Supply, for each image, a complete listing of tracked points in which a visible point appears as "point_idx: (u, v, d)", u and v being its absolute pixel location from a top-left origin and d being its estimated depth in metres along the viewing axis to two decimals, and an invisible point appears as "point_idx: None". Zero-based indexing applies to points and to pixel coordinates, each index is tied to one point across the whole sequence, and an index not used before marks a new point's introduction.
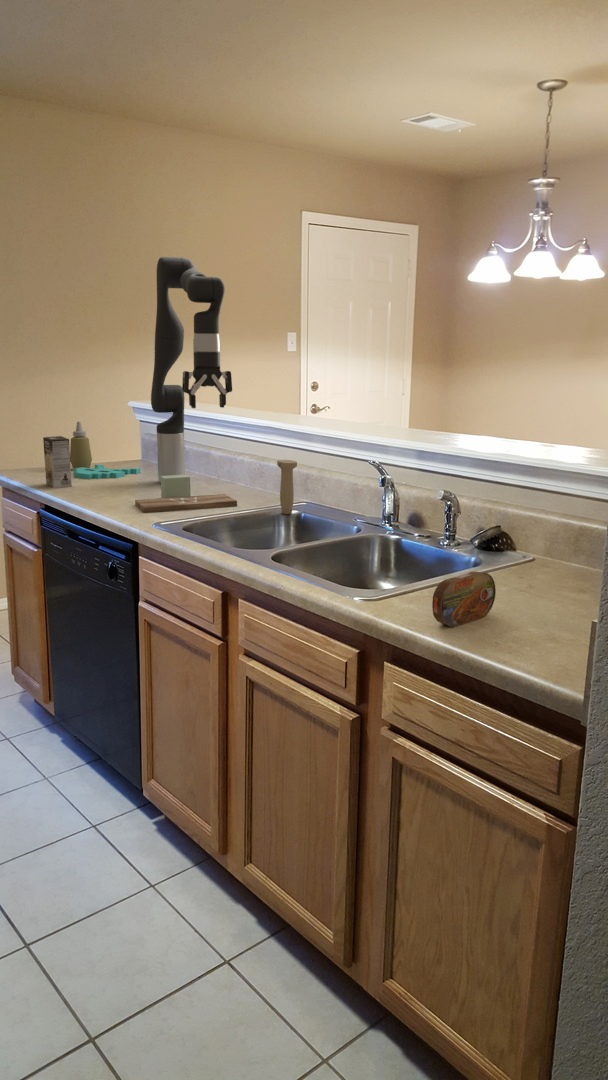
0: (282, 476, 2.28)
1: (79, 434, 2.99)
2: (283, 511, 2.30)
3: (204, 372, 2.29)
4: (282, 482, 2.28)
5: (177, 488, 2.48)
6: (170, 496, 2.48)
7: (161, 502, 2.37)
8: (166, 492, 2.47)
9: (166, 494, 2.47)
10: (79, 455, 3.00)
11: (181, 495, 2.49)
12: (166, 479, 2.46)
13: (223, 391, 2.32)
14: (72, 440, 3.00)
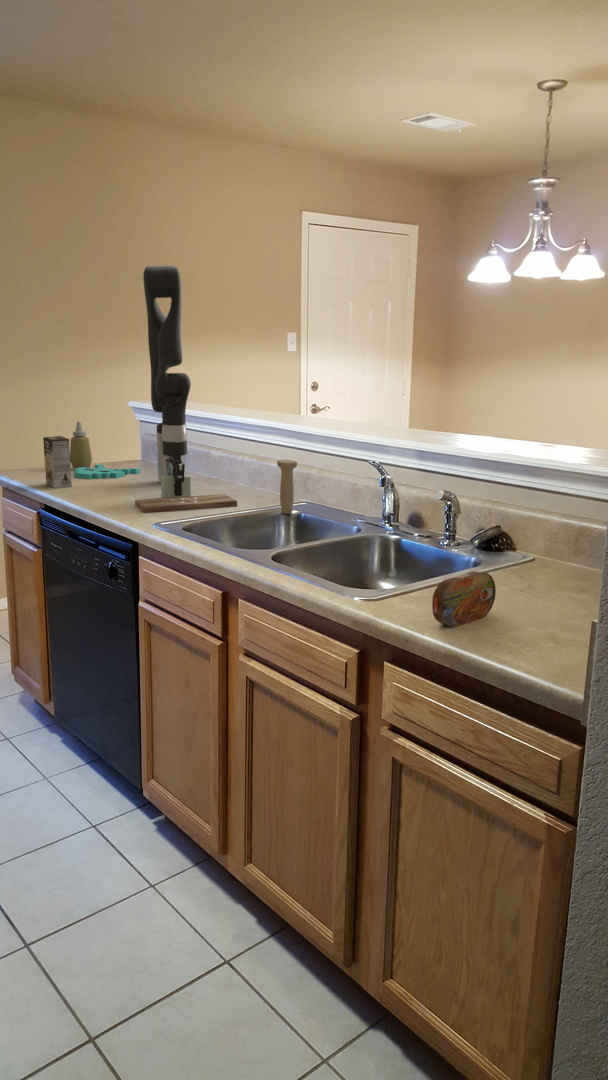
0: (282, 476, 2.28)
1: (79, 434, 2.99)
2: (283, 511, 2.30)
3: None
4: (282, 482, 2.28)
5: None
6: (170, 496, 2.48)
7: (161, 502, 2.37)
8: (166, 492, 2.47)
9: (166, 494, 2.47)
10: (79, 455, 3.00)
11: (181, 495, 2.49)
12: (166, 479, 2.46)
13: None
14: (72, 440, 3.00)
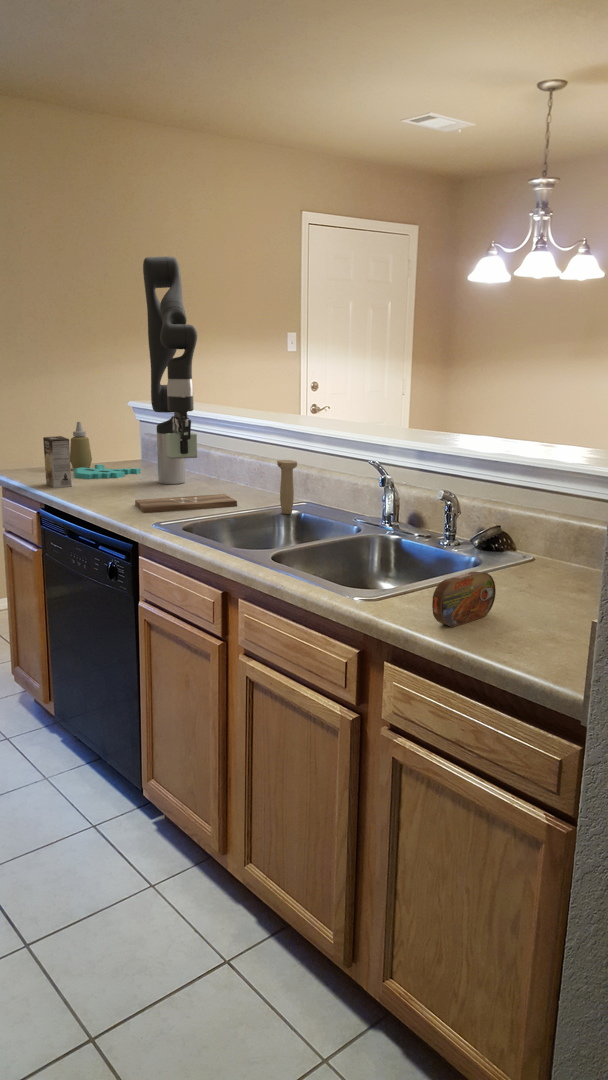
0: (282, 476, 2.28)
1: (79, 434, 2.99)
2: (283, 511, 2.30)
3: None
4: (282, 482, 2.28)
5: None
6: (176, 454, 2.36)
7: (161, 502, 2.37)
8: (171, 450, 2.36)
9: (171, 452, 2.36)
10: (79, 455, 3.00)
11: (187, 453, 2.38)
12: (172, 436, 2.35)
13: None
14: (72, 440, 3.00)
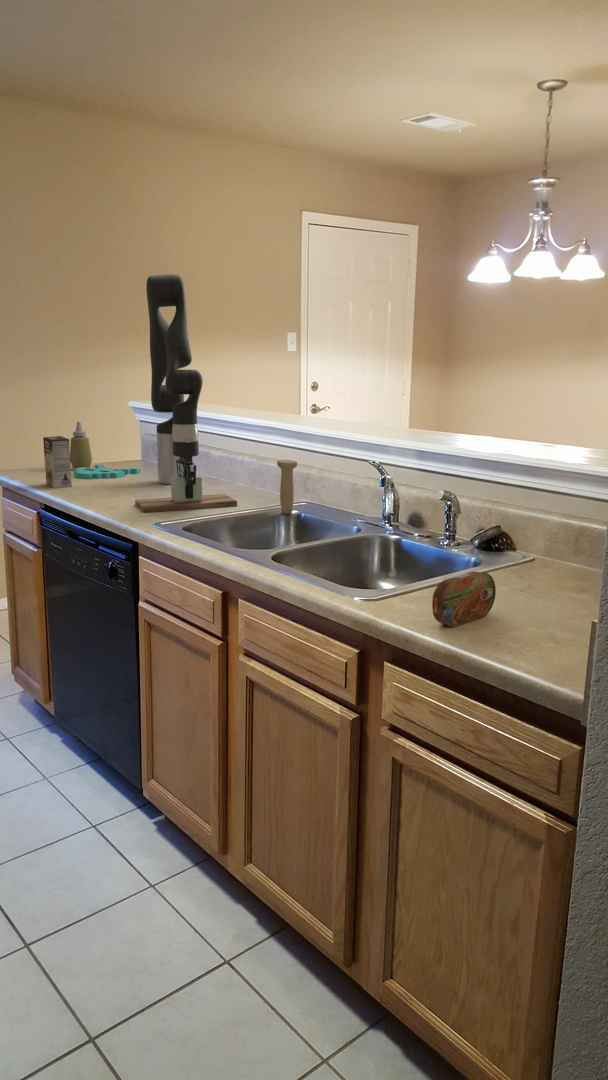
0: (282, 476, 2.28)
1: (79, 434, 2.99)
2: (283, 511, 2.30)
3: None
4: (282, 482, 2.28)
5: None
6: (181, 498, 2.35)
7: (161, 502, 2.37)
8: (176, 493, 2.35)
9: (176, 496, 2.35)
10: (79, 455, 3.00)
11: None
12: (176, 480, 2.34)
13: None
14: (72, 440, 3.00)
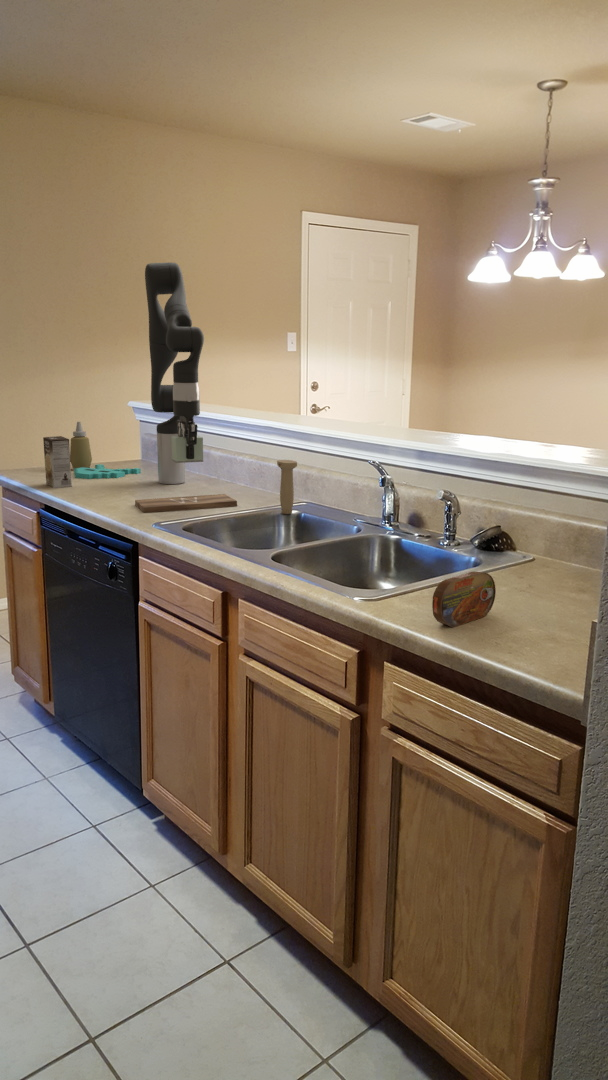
0: (282, 476, 2.28)
1: (79, 434, 2.99)
2: (283, 511, 2.30)
3: None
4: (282, 482, 2.28)
5: None
6: (181, 458, 2.31)
7: (161, 502, 2.37)
8: (177, 453, 2.31)
9: (177, 456, 2.31)
10: (79, 455, 3.00)
11: None
12: (177, 439, 2.30)
13: None
14: (72, 440, 3.00)
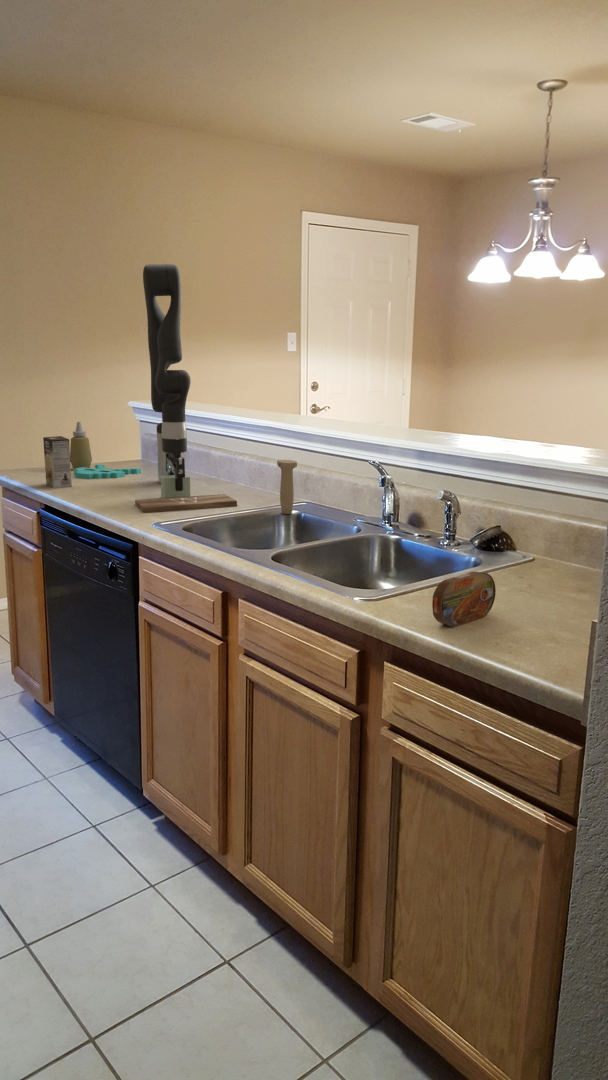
0: (282, 476, 2.28)
1: (79, 434, 2.99)
2: (283, 511, 2.30)
3: None
4: (282, 482, 2.28)
5: None
6: (170, 496, 2.48)
7: (161, 502, 2.37)
8: (166, 492, 2.47)
9: (166, 494, 2.47)
10: (79, 455, 3.00)
11: (181, 495, 2.49)
12: (166, 479, 2.46)
13: None
14: (72, 440, 3.00)
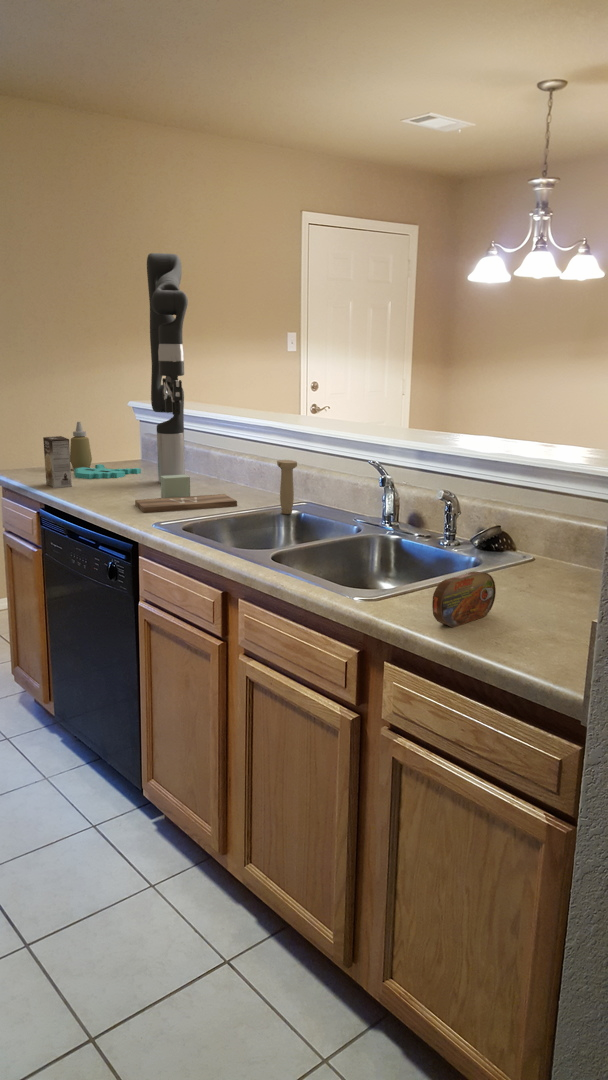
0: (282, 476, 2.28)
1: (79, 434, 2.99)
2: (283, 511, 2.30)
3: None
4: (282, 482, 2.28)
5: (177, 488, 2.48)
6: (170, 496, 2.48)
7: (161, 502, 2.37)
8: (166, 492, 2.47)
9: (166, 494, 2.47)
10: (79, 455, 3.00)
11: (181, 495, 2.49)
12: (166, 479, 2.46)
13: None
14: (72, 440, 3.00)
